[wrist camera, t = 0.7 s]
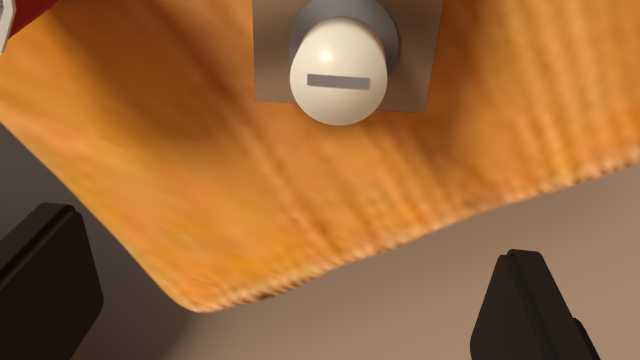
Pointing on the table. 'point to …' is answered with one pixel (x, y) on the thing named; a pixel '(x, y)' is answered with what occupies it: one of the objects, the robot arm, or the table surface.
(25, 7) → the plastic cup
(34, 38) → the table surface
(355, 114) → the knob
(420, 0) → the knob bar
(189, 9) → the table surface
